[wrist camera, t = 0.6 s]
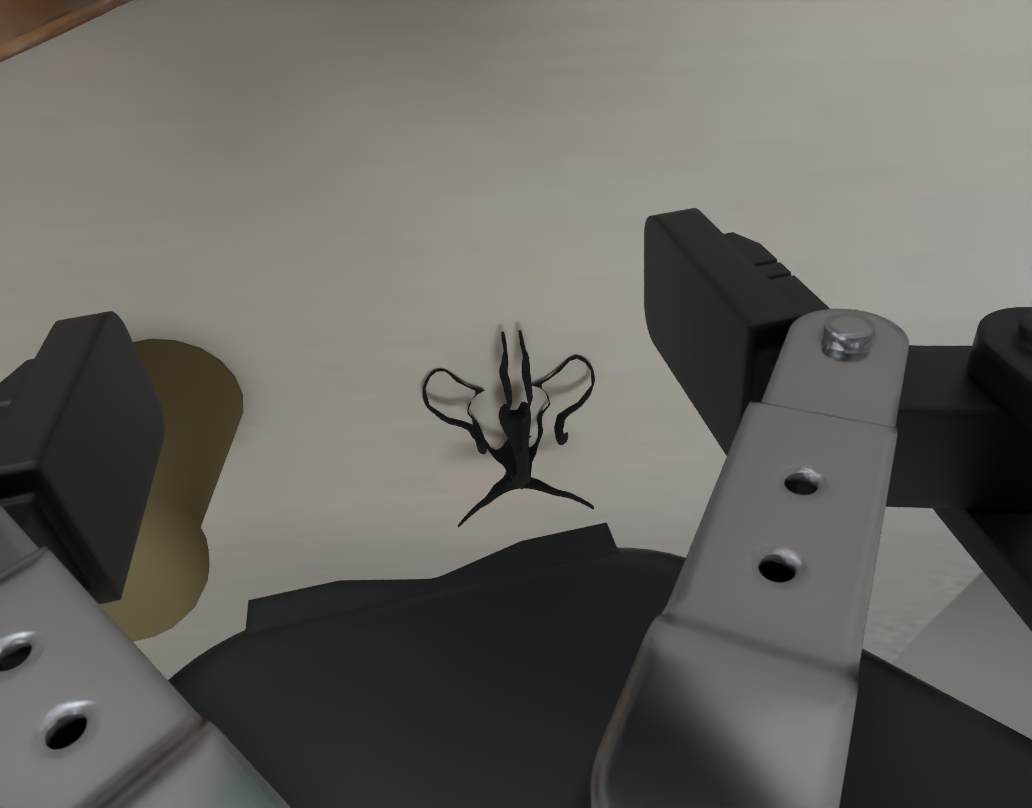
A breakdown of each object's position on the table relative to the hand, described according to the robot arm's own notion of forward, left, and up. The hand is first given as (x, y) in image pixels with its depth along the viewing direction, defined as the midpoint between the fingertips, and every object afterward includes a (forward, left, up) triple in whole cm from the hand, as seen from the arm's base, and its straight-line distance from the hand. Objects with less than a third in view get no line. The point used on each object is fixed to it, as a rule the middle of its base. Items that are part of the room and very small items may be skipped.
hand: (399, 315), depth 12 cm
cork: (+12, -11, -18) cm, 24 cm away
